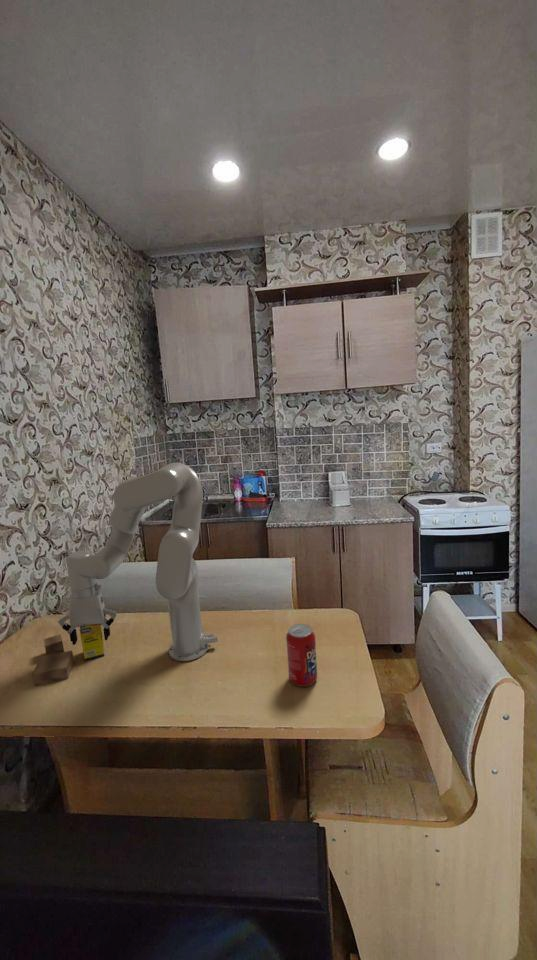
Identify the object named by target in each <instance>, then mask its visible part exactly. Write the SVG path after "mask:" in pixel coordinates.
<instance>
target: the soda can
mask: <svg viewBox="0 0 537 960" xmlns="http://www.w3.org/2000/svg"><path fill="white" fill-rule="evenodd" d="M285 638H286V639H285V641H286V657H287V669H288V670H287V671H288V679H289V681H290V682H291V683H292V684H293V685H295V686H298V687H308V686H310V685H313V684H314V683H315V682H316V681H317V678H318V666H317V665H318V663H317V648H316V647H317V644H316V635H315V632H314V631H313V628H312V627H311V626H310V625H309V624H304V623H298V624H297V623H296V624H293V625H291V626H290V627H289V628H288V632H286V637H285Z"/></svg>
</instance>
